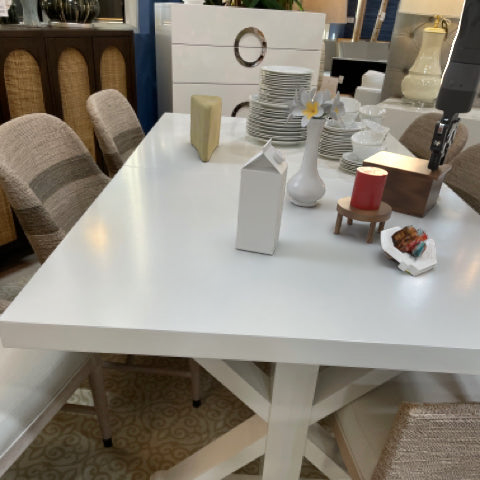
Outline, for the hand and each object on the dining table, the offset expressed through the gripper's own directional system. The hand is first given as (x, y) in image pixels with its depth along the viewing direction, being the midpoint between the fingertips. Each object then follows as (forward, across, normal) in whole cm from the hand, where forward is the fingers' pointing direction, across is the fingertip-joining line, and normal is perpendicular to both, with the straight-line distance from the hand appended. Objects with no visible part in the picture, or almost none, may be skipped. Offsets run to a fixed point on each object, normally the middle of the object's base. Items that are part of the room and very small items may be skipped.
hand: (435, 166), depth 110 cm
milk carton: (+10, -46, +20) cm, 51 cm away
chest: (+10, 0, +7) cm, 12 cm away
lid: (+1, 0, +6) cm, 6 cm away
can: (+4, -26, +7) cm, 27 cm away
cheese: (+10, +2, +68) cm, 69 cm away
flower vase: (+10, -17, +25) cm, 32 cm away
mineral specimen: (+10, -33, -5) cm, 35 cm away
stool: (+10, -26, +7) cm, 29 cm away
